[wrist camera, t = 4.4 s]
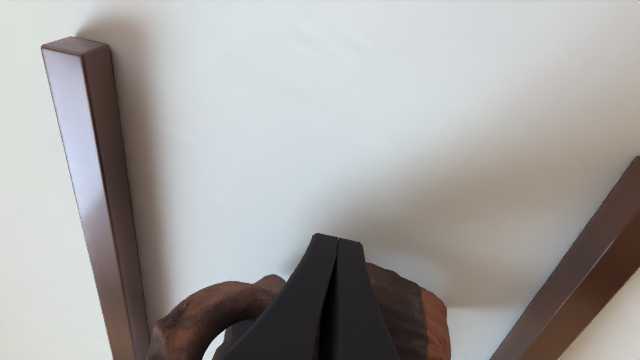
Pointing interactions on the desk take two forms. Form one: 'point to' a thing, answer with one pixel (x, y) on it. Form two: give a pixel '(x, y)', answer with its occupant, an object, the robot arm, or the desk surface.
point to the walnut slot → (121, 252)
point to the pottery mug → (252, 299)
